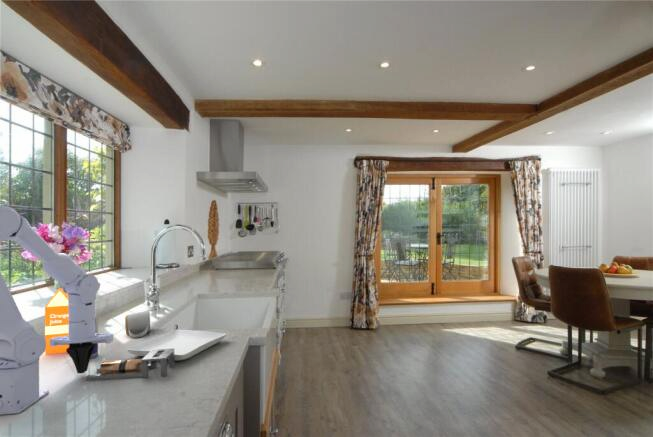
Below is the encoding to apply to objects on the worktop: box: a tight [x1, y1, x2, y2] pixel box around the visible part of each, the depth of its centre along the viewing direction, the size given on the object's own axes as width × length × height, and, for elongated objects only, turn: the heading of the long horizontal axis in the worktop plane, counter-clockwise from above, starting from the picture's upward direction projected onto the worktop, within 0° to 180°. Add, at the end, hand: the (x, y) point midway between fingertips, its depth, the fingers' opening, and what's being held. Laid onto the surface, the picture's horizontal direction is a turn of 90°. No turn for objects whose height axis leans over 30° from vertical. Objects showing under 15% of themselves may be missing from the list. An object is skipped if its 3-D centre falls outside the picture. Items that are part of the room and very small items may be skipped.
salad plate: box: [126, 329, 227, 362], centre depth 110 cm, size 21×21×3 cm
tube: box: [99, 358, 143, 374], centre depth 93 cm, size 10×4×4 cm, turn 96°
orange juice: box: [44, 287, 69, 355], centre depth 114 cm, size 8×9×20 cm
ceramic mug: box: [124, 310, 151, 339], centre depth 127 cm, size 11×8×8 cm
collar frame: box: [85, 348, 176, 382], centre depth 93 cm, size 7×20×5 cm, turn 96°
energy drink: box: [90, 314, 99, 360], centre depth 105 cm, size 5×5×12 cm
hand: (82, 371), depth 91 cm, fingers closed
